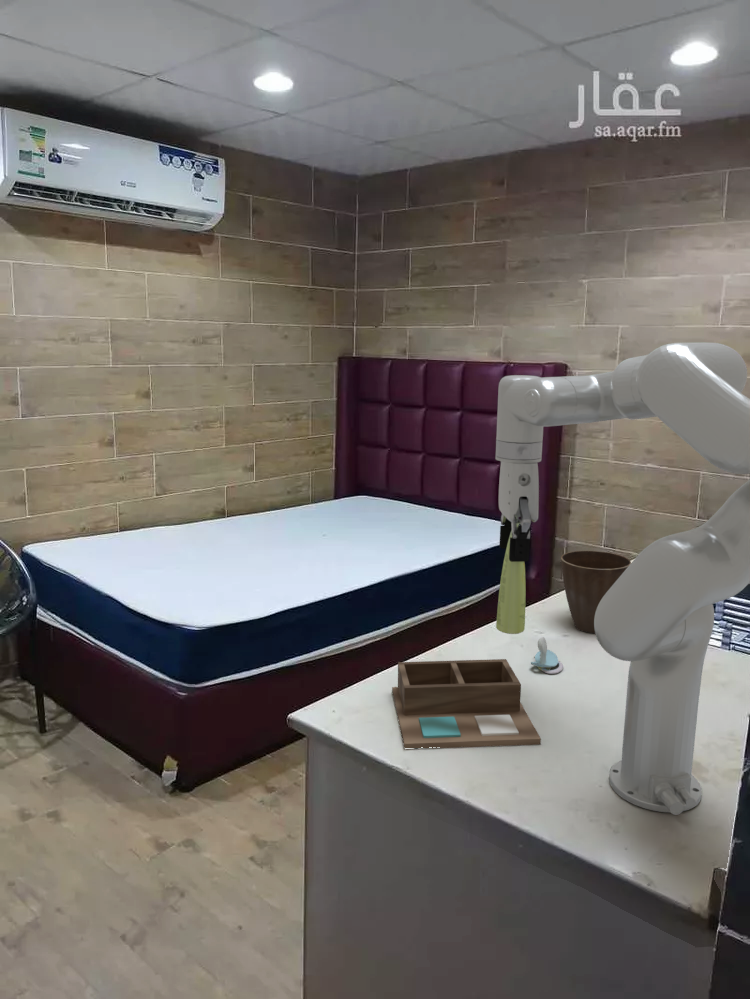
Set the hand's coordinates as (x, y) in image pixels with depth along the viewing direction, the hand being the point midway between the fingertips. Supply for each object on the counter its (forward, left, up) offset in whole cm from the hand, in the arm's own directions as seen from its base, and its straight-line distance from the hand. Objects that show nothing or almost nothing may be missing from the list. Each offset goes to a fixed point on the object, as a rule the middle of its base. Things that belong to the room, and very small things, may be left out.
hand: (513, 553), depth 130 cm
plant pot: (+35, -28, -28) cm, 53 cm away
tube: (0, 0, -14) cm, 14 cm away
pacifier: (+15, -12, -28) cm, 34 cm away
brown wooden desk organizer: (-4, +9, -28) cm, 30 cm away
